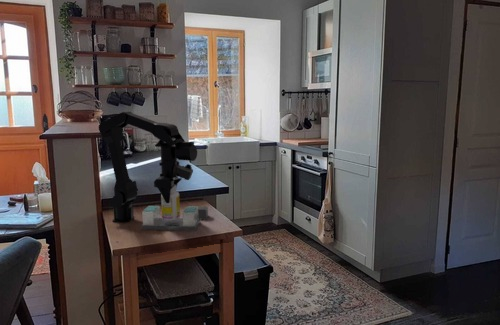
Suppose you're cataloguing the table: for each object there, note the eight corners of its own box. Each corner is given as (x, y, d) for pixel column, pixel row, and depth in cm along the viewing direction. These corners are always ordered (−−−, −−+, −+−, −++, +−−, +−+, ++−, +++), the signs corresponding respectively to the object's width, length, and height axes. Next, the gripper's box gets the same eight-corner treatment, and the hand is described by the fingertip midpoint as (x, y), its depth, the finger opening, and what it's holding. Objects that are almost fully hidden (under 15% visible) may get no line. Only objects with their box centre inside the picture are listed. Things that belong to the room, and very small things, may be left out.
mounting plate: (141, 229, 140) (140, 211, 139) (149, 221, 149) (148, 204, 148) (195, 230, 139) (194, 212, 138) (200, 222, 148) (199, 205, 147)
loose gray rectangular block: (193, 219, 153) (193, 209, 152) (195, 215, 157) (195, 206, 156) (206, 219, 152) (205, 209, 152) (207, 216, 156) (207, 206, 156)
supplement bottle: (176, 214, 148) (175, 182, 146) (182, 219, 143) (181, 185, 141) (159, 217, 145) (158, 184, 142) (165, 222, 139) (164, 188, 137)
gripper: (184, 164, 130) (185, 208, 133) (196, 155, 148) (196, 194, 151) (152, 163, 131) (154, 207, 134) (167, 155, 149) (169, 193, 152)
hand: (170, 200), depth 143 cm, fingers closed on supplement bottle, 7 cm apart
